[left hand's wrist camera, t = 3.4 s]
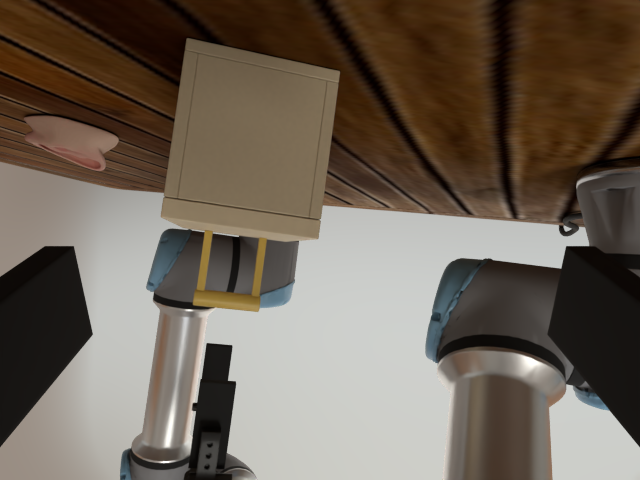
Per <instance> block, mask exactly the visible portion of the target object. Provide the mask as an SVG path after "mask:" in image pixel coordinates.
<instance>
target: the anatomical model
mask: <svg viewBox="0 0 640 480" xmlns="http://www.w3.org/2000/svg"><path fill="white" fill-rule="evenodd" d="M24 120H25V121H26V123H27V124H28V125H29V126H30V127H31V128H32V129H33V131H32V132H29V133H27V134H26V135H25V140H26V141H28V142H30V143H32V144H34V145H36V146H38V147H40V148H42V149H44V150H46V151H48V152H51V153H53V154H55V155H58V156H60V157H62V158H65V159H67V160H69V161H72V162H74V163H76V164H79V165H81V166H84V167H86V168H89V169H92V170H96V171H101V170H103V169H104V168H105V166H106V162H105V158H104V156H103V154H104V153H105V152H107V151H109V150H110V149H112V148H113V147H115V146H116V145H117V143H118V141H119V139H118V137H117V136H115V135H114V134H112V133H110V132H107V131H104V130H102V129H99V128H96V127H93V126H90V125H87V124H83V123H80V122H77V121H73V120H70V119H66V118H62V117H57V116H45V115H42V116H28V117H25V118H24Z"/></svg>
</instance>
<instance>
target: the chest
mask: <svg viewBox="0 0 640 480" xmlns="http://www.w3.org/2000/svg"><path fill="white" fill-rule="evenodd" d="M339 76H340V71H337V70H332V69H327V68H323V67H318V66H314V65H309V64H305V63H300V62H295V61H291V60H286V59H282V58H277V57H273V56H268V55H263V54H259V53H254V52H250V51H245V50H241V49H236V48H232V47H227V46H222V45H218V44H213V43H209V42H204V41H200V40H195V39H190V38H187V40H186V46H185V53H184V60H183V67H182V74H181V81H180V88H179V94H178V101H177V108H176V115H175V122H174V129H173V136H172V143H171V149H170V156H169V163H168V170H167V177H166V184H165V191H164V196H165V197H166V198H173V199H180V200H186V201H193V202H200V203H207V204H213V205H220V206H227V207H234V208H240V209H247V210H254V211H261V212H267V213H274V214H281V215H288V216H294V217H301V218H308V219H315V220H319V219H321V214H322V206H323V199H324V191H325V183H326V176H327V168H328V160H329V153H330V145H331V137H332V130H333V122H334V114H335V107H336V99H337V91H338V82H339Z"/></svg>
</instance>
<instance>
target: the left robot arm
mask: <svg viewBox="0 0 640 480" xmlns="http://www.w3.org/2000/svg"><path fill="white" fill-rule="evenodd" d="M576 188H577V197H578V201H579V205H580V209H581V213H576V214H571V215H568V216H566V217H565V218H564V219H563V223H564V225H565V226H567V227H569V228H572V229H571V230H570V231H567V232H565V230H564V226H563V225H559V231H560V233H561V234H562V235H563V236H570V235H572V234H574V233H575V232H577V231H578V230H579V227H578V226H577V225H575V224H573V223H571V222H569V221H571V220H575V219H582V218H583V221H584V224H585V228H586V232H587V236H588V240H589V246H566V250H565V255H564V259H563V264H562V268H561V269H559V268H551V267H543V266H535V265H527V264H519V263H511V262H502V261H495V260H492V259H483V260H478V259H465V258H461V259H457V260H455V261H452V262H451V263H450V264H449V265H448V266H447V267H446V269H445V271H444V273H443V275H442V278H441V281H440V284H439V287H438V290H437V293H436V297H435V301H434V305H433V309H432V316H431V320H430V324H429V327H428V332H427V338H426V351H425V352H426V356H427V357H428V358H429V359H431V360H433V361H434V362H436V363H438V366H437V375H438V378H439V380H440V382H441V383H442V384H443V385H444V387H445V388H446V389H447V390H448V391H449V392H450V393H451V394H450V405H449V416H448V426H447V437H446V447H445V458H444V468H443V479H442V480H552V462H551V441H550V421H549V407H550V406H552V405H553V404H555V403H556V402H557V401H559V400H560V399H561V398H562V397H563V395H564V394H565V392H566V384H568V385H573V390H574V391H575V394H576V396H577V398H578V399H579V400H580V401H582V402H584V403H586V404H588V405H591V406H593V407H596V408H599V409H603V410H610V411H611V413H612V414H613V415H614V416H615V417H616V419H617V420H618V421H619V422H620V424H621V425H622V426H623V427H624V428H625V430H626V431H627V432H628V433H629V435H630V436H631V437H632V438H633V439H634V441H635V442H636V443H637V444H638V445H639V447H640V158H639V159H628V160H620V161H613V162H607V163H602V164H598V165H594V166H591V167H588V168H585V169H583V170H582V171H580V172H579V173H578V176H577V186H576ZM92 335H93V333H92V329H91V324H90V319H89V315H88V310H87V305H86V301H85V296H84V292H83V287H82V282H81V278H80V273H79V268H78V264H77V259H76V255H75V250H74V246H45V247H43V248H42V249H40V250H39V251H37V252H36V253H34V254H33V255H32V256H30V257H29V258H27V259H26V260H24V261H23V262H21V263H20V264H18V265H17V266H15V267H14V268H13V269H11V270H10V271H8V272H7V273H5V274H4V275H2V276H1V277H0V447H1V445H2V444H3V443H4V442H5V441H6V439H7V438H8V437H9V436H10V435H11V433H12V432H13V431H14V430H15V428H16V427H17V426H18V425H19V424H20V422H21V421H22V420H23V419H24V418H25V416H26V415H27V414H28V413H29V411H30V410H31V409H32V408H33V407H34V405H35V404H36V403H37V402H38V400H39V399H40V398H41V397H42V396H43V394H44V393H45V392H46V391H47V389H48V388H49V387H50V386H51V385H52V383H53V382H54V381H55V380H56V379H57V377H58V376H59V375H60V374H61V372H62V371H63V370H64V369H65V368H66V366H67V365H68V364H69V363H70V362H71V360H72V359H73V358H74V357H75V355H76V354H77V353H78V352H79V351H80V349H81V348H82V347H83V346H84V345H85V343H86V342H87V341H88V340H89V338H90V337H91V336H92Z"/></svg>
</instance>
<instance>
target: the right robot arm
mask: <svg viewBox="0 0 640 480" xmlns="http://www.w3.org/2000/svg"><path fill="white" fill-rule="evenodd" d="M204 233H205V232H198V231H192V230H191V229H188V230H182V229H168V230H166V231H164V232H163V233H162V235H161V238H160V241H159V244H158V247H157V251H156V254H155V257H154V261H153V264H152V268H151V272H150V275H149V279H148V282H147V286H146V288H147V290H150V291H151V292H154V296H153V302H154V303H155V304H156V305H157V307H158V308H159V309H160V315H159V322H158V329H157V336H156V343H155V350H154V357H153V364H152V370H151V377H150V384H149V391H148V398H147V404H146V411H145V418H144V425H143V432H142V433H141V434H140V435H138V436H137V437H136V438H135V439H134V440H133V442H132V447H131V448H129V449H127V450H125V451H124V452H123V454H122V459H121V469H120V480H257V478H256V476H255V475H254V473H253V472H252V471H251V469H250V468H249V467H248V466H246V465H245V464H244V463H243V462H241V461H240V460H238V459H237V458H235V457H234V456H232V455H230V454H228V453H227V446H228V439H229V432H230V425H231V417H232V410H233V403H234V395H235V388H236V382H235V381H228V375H229V368H230V361H231V353H232V345H222V344H210V343H207V345H206V352H205V359H204V366H203V373H202V379H201V381H200V387H199V395H198V402H197V403H195V396H196V390H197V383H198V377H199V370H200V364H201V357H202V351H203V344H204V338H205V331H206V325H207V318H208V315H209V314H210V313H211V312H212V311H214V310H215V309H216V308H215V307H205V306H196V305H193V298H194V292H195V289H197V283H198V276H199V269H200V262H201V255H202V248H203V241H204ZM258 242H259V238H254V237H246V236H239V237H233V236H227V235H219V234H212V241H211V248H210V256H209V263H208V270H207V277H206V284H205V290H213V291H222V292H231V293H240V294H249V295H251V293H252V286H253V278H254V271H255V264H256V256H257V249H258ZM298 245H299V241H289V242H283V241H276V240H268V239H267V242H266V249H265V257H264V264H263V272H262V279H261V286H260V294H259V296H260V297H261V300H260V308H269V307H277V306H281V305H284V304H286V303H287V302H288V301H289V300H290V298H291V294H292V288H293V284H294V282H295V279H294V277H295V269H296V261H297V253H298ZM193 411H196V416H195V423H194V431H193V437H192V436H191V435H190V429H191V422H192V416H193Z"/></svg>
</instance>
